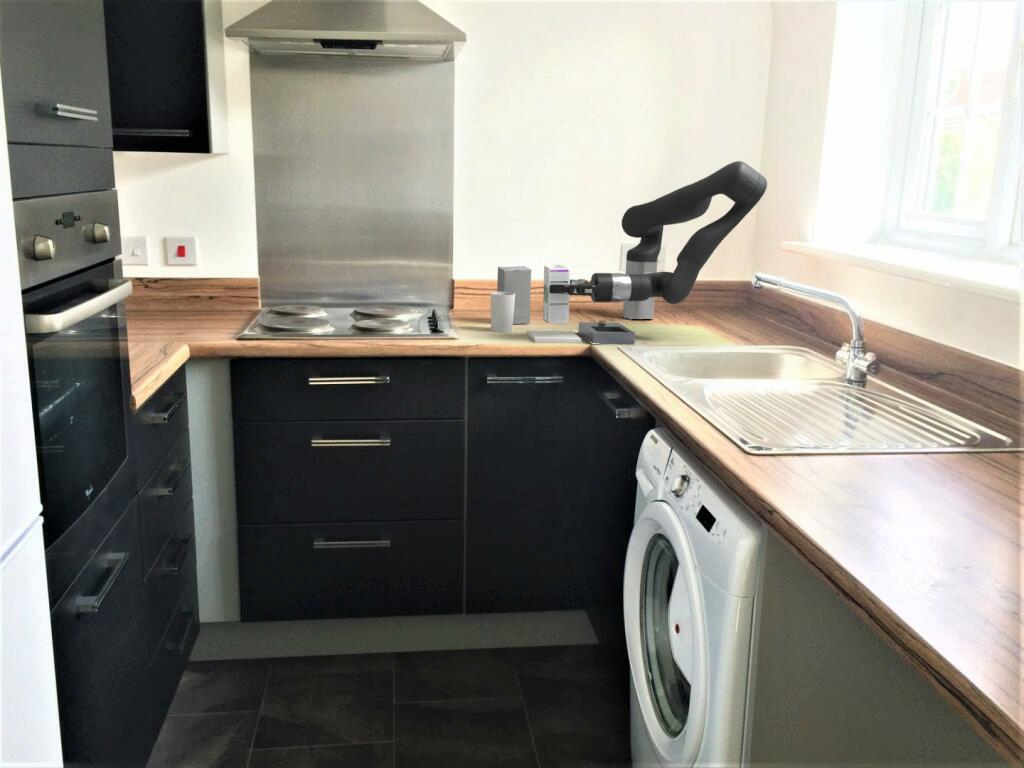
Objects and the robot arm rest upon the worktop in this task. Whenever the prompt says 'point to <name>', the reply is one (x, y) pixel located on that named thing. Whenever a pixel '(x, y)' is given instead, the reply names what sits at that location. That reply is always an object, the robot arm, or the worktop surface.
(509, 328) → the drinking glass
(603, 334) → the dark grey tray
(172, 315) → the worktop surface
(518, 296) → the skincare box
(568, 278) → the syrup box
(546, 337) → the off-white mat
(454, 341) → the worktop surface
